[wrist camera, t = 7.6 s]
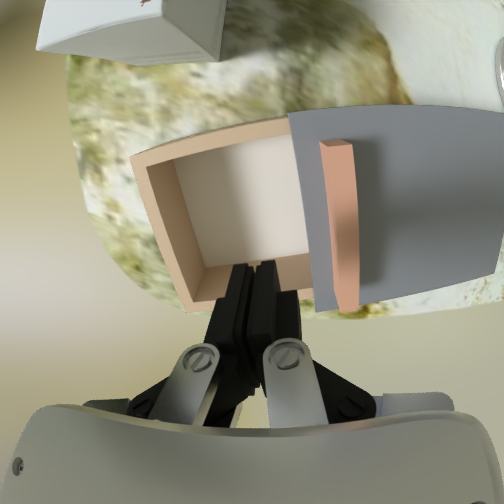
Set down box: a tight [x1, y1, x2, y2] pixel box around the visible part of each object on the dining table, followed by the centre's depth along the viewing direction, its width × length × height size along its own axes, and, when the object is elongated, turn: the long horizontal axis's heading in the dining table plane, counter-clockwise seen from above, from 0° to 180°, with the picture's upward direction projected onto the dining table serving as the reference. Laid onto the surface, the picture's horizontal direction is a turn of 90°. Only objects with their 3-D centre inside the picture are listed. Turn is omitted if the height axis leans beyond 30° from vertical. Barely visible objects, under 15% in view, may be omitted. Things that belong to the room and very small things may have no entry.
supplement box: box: [36, 0, 227, 66], centre depth 11 cm, size 7×7×13 cm
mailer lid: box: [287, 105, 504, 313], centre depth 15 cm, size 17×14×3 cm
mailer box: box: [129, 116, 314, 313], centre depth 21 cm, size 16×13×6 cm
